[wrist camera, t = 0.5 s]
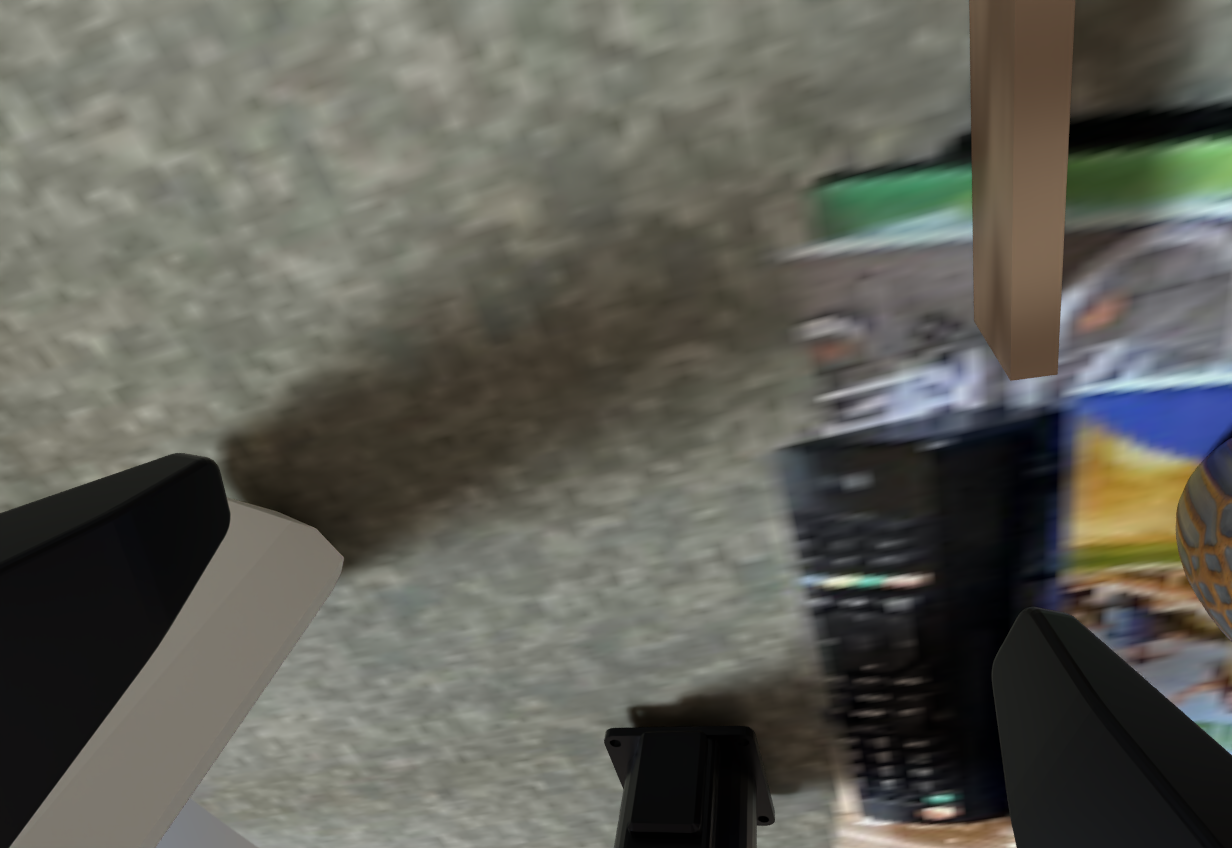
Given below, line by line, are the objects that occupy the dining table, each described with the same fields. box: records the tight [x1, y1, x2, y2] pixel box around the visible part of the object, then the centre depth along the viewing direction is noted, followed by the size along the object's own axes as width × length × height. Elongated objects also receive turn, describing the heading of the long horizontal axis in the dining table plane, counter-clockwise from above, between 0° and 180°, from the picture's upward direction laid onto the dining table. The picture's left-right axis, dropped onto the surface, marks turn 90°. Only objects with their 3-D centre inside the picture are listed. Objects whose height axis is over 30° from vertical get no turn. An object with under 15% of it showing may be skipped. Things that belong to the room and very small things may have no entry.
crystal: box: [10, 498, 344, 848], centre depth 19 cm, size 7×7×24 cm
